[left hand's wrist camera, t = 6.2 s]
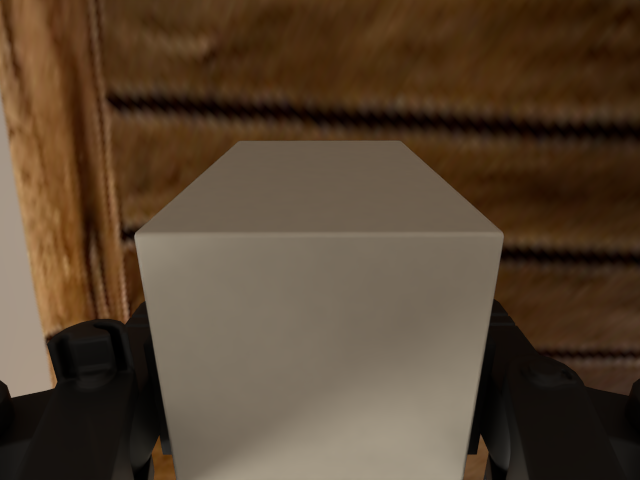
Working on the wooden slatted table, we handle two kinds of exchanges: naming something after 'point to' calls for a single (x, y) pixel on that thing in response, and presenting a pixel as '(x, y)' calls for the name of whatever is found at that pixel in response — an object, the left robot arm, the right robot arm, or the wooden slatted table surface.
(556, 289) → the wooden slatted table surface
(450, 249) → the plank
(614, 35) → the wooden slatted table surface
